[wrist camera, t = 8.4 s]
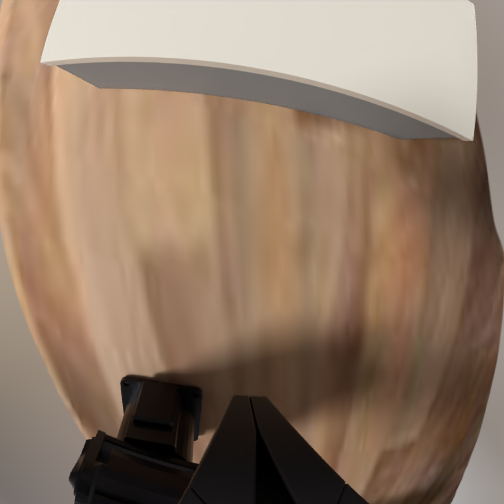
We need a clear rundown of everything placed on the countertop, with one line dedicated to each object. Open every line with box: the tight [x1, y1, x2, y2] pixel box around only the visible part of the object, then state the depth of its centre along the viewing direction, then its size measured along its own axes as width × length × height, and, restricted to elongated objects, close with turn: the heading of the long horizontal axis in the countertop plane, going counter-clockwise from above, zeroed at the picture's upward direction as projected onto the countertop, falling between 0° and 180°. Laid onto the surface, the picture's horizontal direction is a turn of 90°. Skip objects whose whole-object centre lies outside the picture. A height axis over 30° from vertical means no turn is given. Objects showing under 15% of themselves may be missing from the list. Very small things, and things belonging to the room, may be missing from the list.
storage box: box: [56, 62, 457, 139], centre depth 13 cm, size 9×20×6 cm, turn 81°
